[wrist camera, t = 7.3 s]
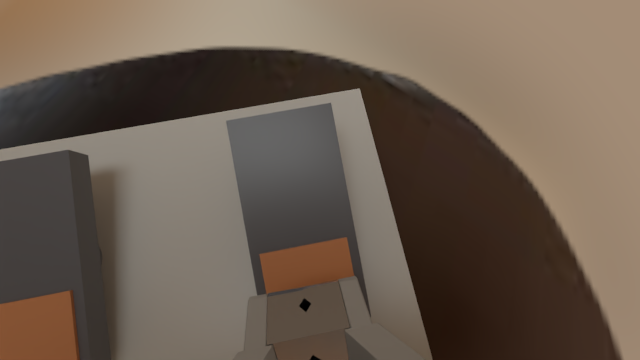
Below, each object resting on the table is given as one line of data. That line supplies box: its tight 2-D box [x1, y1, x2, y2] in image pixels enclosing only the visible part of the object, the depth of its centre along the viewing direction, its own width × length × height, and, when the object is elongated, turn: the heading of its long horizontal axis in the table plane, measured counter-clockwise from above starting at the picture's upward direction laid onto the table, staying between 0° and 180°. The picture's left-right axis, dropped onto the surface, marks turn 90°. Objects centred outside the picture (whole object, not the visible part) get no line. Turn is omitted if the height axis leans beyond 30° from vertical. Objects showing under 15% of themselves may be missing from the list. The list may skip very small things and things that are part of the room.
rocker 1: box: [0, 150, 111, 360], centre depth 13 cm, size 4×9×2 cm, turn 11°
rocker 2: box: [226, 103, 371, 317], centre depth 14 cm, size 4×9×2 cm, turn 11°
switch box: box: [0, 89, 433, 360], centre depth 19 cm, size 28×14×8 cm, turn 101°
